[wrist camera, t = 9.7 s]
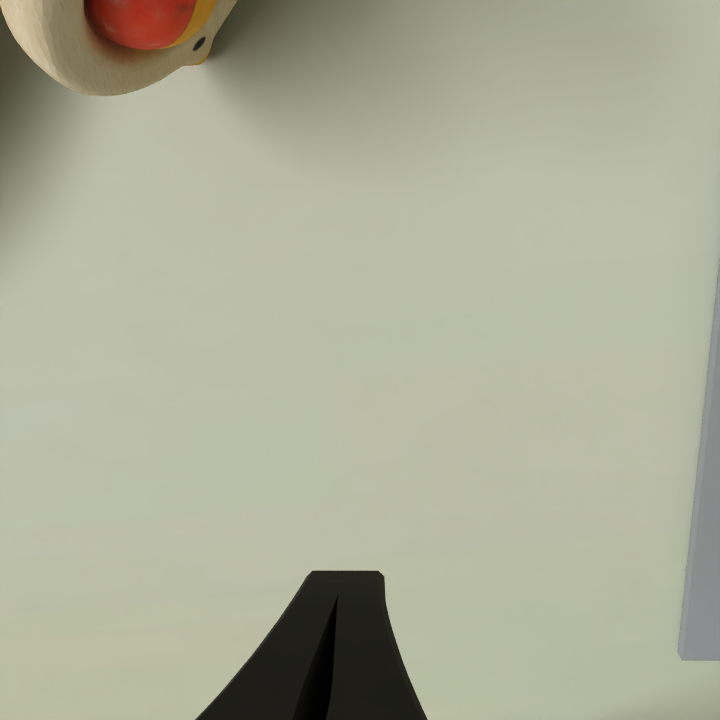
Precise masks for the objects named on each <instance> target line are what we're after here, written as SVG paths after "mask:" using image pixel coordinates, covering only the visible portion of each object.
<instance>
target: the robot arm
mask: <svg viewBox="0 0 720 720" xmlns="http://www.w3.org/2000/svg"><path fill="white" fill-rule="evenodd" d="M195 720H427V717H426V715H425V713H424V711H423V709H422V707H421V705H420V702H419V700H418V698H417V696H416V693H415V691H414V688H413V686H412V684H411V681H410V679H409V677H408V674H407V671H406V669H405V666H404V664H403V661H402V658H401V655H400V652H399V649H398V646H397V643H396V640H395V637H394V634H393V631H392V627H391V624H390V620H389V615H388V611H387V607H386V601H385V582H384V576H383V575H382V574H381V573H380V572H379V571H312V572H311V573H310V574H309V575H308V576H307V577H306V579H305V580H304V582H303V584H302V585H301V587H300V588H299V590H298V592H297V593H296V595H295V596H294V598H293V599H292V601H291V602H290V604H289V605H288V607H287V608H286V610H285V611H284V613H283V614H282V615H281V617H280V618H279V620H278V621H277V623H276V624H275V625H274V627H273V628H272V629H271V631H270V632H269V633H268V635H267V636H266V637H265V639H264V640H263V641H262V643H261V644H260V645H259V647H258V648H257V649H256V651H255V652H254V653H253V655H252V656H251V657H250V658H249V659H248V661H247V662H246V663H245V664H244V665H243V667H242V668H241V669H240V670H239V671H238V673H237V674H236V675H235V676H234V677H233V679H232V680H231V681H230V682H229V683H228V685H227V686H226V687H225V688H224V689H223V690H222V692H221V693H220V694H219V695H218V696H217V697H216V698H215V699H214V700H213V702H212V703H211V704H210V705H209V706H208V707H207V708H206V709H205V710H204V711H203V712H202V713H201V714H200V715H199V716H198V717H197V718H196V719H195Z"/></svg>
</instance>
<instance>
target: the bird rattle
mask: <svg viewBox="0 0 720 720" xmlns="http://www.w3.org/2000/svg"><path fill="white" fill-rule="evenodd" d="M236 2H237V0H0V6H1V9H2V13H3V15H4V17H5V20H6V22H7V25H8V27H9V28H10V30H11V32H12V34H13V36H14V38H15V39H16V41H17V42H18V43H19V45H20V46H21V47H22V49H23V50H24V51H25V52H26V53H27V55H28V56H29V57H30V58H31V59H32V60H33V61H34V62H35V63H36V64H37V65H38V66H39V67H40V68H42V69H43V70H44V71H45V72H46V73H47V74H48V75H50V76H51V77H52V78H53V79H55V80H56V81H58V82H59V83H61V84H62V85H64V86H65V87H67V88H69V89H71V90H73V91H76V92H79V93H82V94H86V95H94V96H114V95H121V94H126V93H130V92H133V91H137V90H139V89H142V88H144V87H147V86H149V85H151V84H153V83H156V82H157V81H159V80H161V79H163V78H164V77H166V76H168V75H169V74H171V73H172V72H174V71H175V70H177V69H178V68H180V67H182V66H190V65H199V64H201V63H203V62H204V61H205V60H206V58H207V57H208V54H209V52H210V49H211V45H212V42H213V39H214V37H215V35H216V33H217V32H218V30H219V28H220V27H221V25H222V24H223V22H224V21H225V19H226V18H227V16H228V15H229V13H230V12H231V10H232V8H233V7H234V5H235V4H236Z"/></svg>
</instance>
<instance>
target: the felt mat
mask: <svg viewBox="0 0 720 720" xmlns="http://www.w3.org/2000/svg"><path fill="white" fill-rule="evenodd" d="M678 653H679V655H680V657H681V659H682V660H692V661H720V264H719V273H718V282H717V292H716V301H715V310H714V320H713V329H712V338H711V348H710V357H709V366H708V376H707V385H706V394H705V404H704V413H703V423H702V432H701V441H700V451H699V460H698V469H697V479H696V488H695V497H694V507H693V516H692V525H691V535H690V544H689V553H688V563H687V572H686V581H685V591H684V600H683V609H682V619H681V628H680V637H679V647H678Z"/></svg>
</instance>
